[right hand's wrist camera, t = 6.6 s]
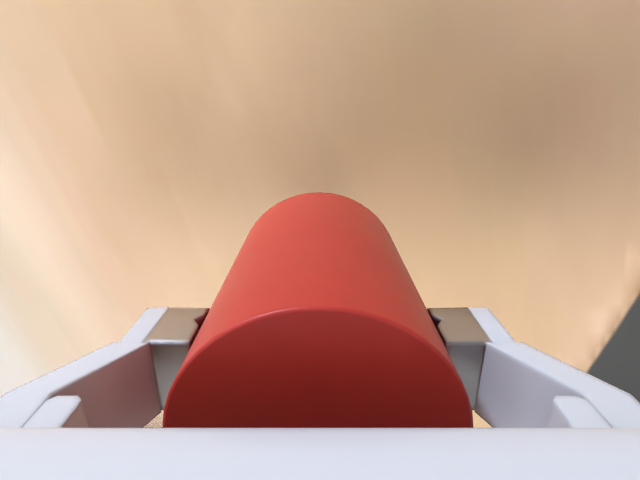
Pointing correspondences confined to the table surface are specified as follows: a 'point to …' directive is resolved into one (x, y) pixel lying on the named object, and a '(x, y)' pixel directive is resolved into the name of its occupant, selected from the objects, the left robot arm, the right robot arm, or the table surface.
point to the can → (318, 333)
